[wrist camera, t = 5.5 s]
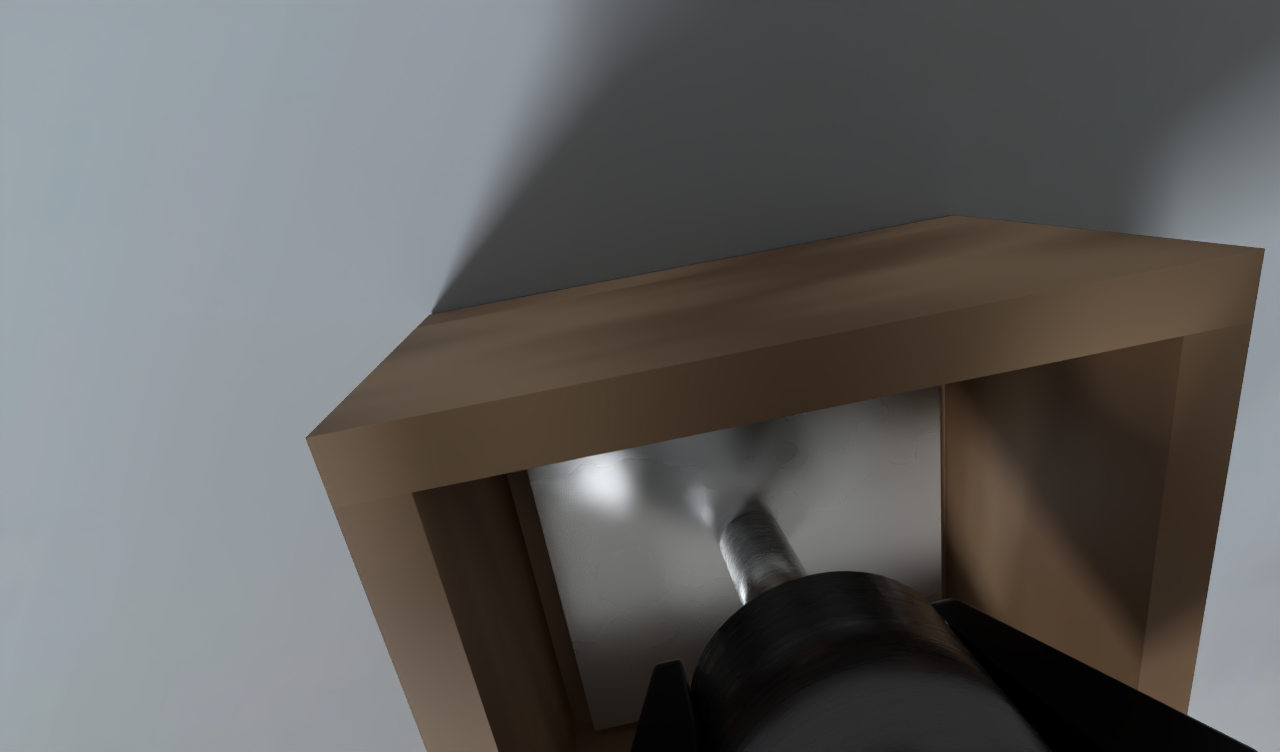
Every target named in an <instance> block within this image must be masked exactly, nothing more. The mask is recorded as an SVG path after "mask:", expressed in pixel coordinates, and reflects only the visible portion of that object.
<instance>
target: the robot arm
mask: <svg viewBox="0 0 1280 752" xmlns="http://www.w3.org/2000/svg"><path fill="white" fill-rule="evenodd" d="M930 605H931V606H932V607H933V608H934V609H935V610H936V611H937V613H938V614H939V615H940V616H941V617H942V619H943V620H944V621H945V622H946V623H947V625H948V626H949V627H950V628H951V629H952V631H953V632H954V633H955V634H956V635H957V637H958V638H959V639H960V640H961V641H962V643H963V644H964V645H965V646H966V647H967V649H968V650H969V651H970V652H971V653H972V654H973V656H974V657H975V658H976V659H977V660H978V662H979V663H980V664H981V665H982V666H983V668H984V669H985V670H986V671H987V672H988V674H989V675H990V676H991V677H992V678H993V680H994V681H995V682H996V683H997V684H998V686H999V687H1000V688H1001V689H1002V690H1003V692H1004V693H1005V694H1006V695H1007V696H1008V698H1009V699H1010V700H1011V701H1012V702H1013V704H1014V705H1015V706H1016V707H1017V708H1018V710H1019V711H1020V712H1021V713H1022V714H1023V716H1024V717H1025V718H1026V719H1027V720H1028V722H1029V723H1030V724H1031V725H1032V726H1033V728H1034V729H1035V730H1036V731H1037V732H1038V734H1039V735H1040V736H1041V737H1042V738H1043V740H1044V741H1045V742H1046V743H1047V744H1048V745H1049V747H1050V748H1051V749H1052V750H1053V751H1054V752H1257V751H1256V750H1255V749H1253V748H1251V747H1249V746H1247V745H1245V744H1243V743H1241V742H1239V741H1237V740H1235V739H1233V738H1231V737H1229V736H1227V735H1225V734H1224V733H1222V732H1220V731H1218V730H1216V729H1214V728H1212V727H1210V726H1208V725H1206V724H1204V723H1202V722H1200V721H1198V720H1196V719H1194V718H1192V717H1190V716H1188V715H1186V714H1184V713H1182V712H1180V711H1178V710H1176V709H1174V708H1172V707H1170V706H1168V705H1166V704H1164V703H1162V702H1160V701H1158V700H1156V699H1154V698H1152V697H1150V696H1148V695H1146V694H1144V693H1142V692H1140V691H1138V690H1136V689H1134V688H1132V687H1130V686H1128V685H1126V684H1124V683H1122V682H1120V681H1118V680H1117V679H1115V678H1113V677H1111V676H1109V675H1107V674H1105V673H1103V672H1101V671H1099V670H1097V669H1095V668H1093V667H1091V666H1089V665H1087V664H1085V663H1083V662H1081V661H1079V660H1077V659H1075V658H1073V657H1071V656H1069V655H1067V654H1065V653H1063V652H1061V651H1059V650H1057V649H1055V648H1053V647H1051V646H1049V645H1047V644H1045V643H1043V642H1041V641H1039V640H1037V639H1035V638H1033V637H1031V636H1029V635H1027V634H1025V633H1023V632H1021V631H1019V630H1017V629H1015V628H1013V627H1011V626H1010V625H1008V624H1006V623H1004V622H1002V621H1000V620H998V619H996V618H994V617H992V616H990V615H988V614H986V613H984V612H982V611H980V610H978V609H976V608H974V607H972V606H970V605H968V604H966V603H964V602H962V601H960V600H957V599H954V598H949V599H945V600H940V601H936V602H931V603H930ZM630 752H704V750H703V744H702V739H701V734H700V728H699V723H698V718H697V714H696V710H695V706H694V702H693V698H692V694H691V689H690V685H689V681H688V677H687V673H686V669H685V665H684V662H683V660H682V659H674V660H669V661H665V662H660V663H657V664H656V665H655V666H654V668H653V671H652V675H651V678H650V682H649V685H648V689H647V693H646V696H645V700H644V703H643V707H642V710H641V714H640V717H639V721H638V725H637V728H636V732H635V735H634V739H633V742H632V746H631V750H630Z"/></svg>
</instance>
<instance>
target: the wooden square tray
mask: <svg viewBox="0 0 1280 752" xmlns="http://www.w3.org/2000/svg"><path fill="white" fill-rule="evenodd" d="M1264 251H1265V249H1264V248H1254V247H1245V246H1236V245H1226V244H1217V243H1208V242H1199V241H1189V240H1180V239H1171V238H1161V237H1152V236H1143V235H1133V234H1124V233H1115V232H1106V231H1096V230H1087V229H1078V228H1068V227H1059V226H1050V225H1041V224H1031V223H1022V222H1013V221H1003V220H994V219H985V218H976V217H966V216H957V215H952V216H947V217H942V218H937V219H931V220H926V221H921V222H915V223H910V224H905V225H900V226H894V227H889V228H884V229H879V230H873V231H868V232H863V233H858V234H852V235H847V236H842V237H836V238H831V239H826V240H821V241H815V242H810V243H805V244H800V245H794V246H789V247H784V248H778V249H773V250H768V251H763V252H757V253H752V254H747V255H742V256H736V257H731V258H726V259H720V260H715V261H710V262H705V263H699V264H694V265H689V266H684V267H678V268H673V269H668V270H663V271H657V272H652V273H647V274H641V275H636V276H631V277H626V278H620V279H615V280H610V281H605V282H599V283H594V284H589V285H583V286H578V287H573V288H568V289H562V290H557V291H552V292H547V293H541V294H536V295H531V296H525V297H520V298H515V299H510V300H504V301H499V302H494V303H489V304H483V305H478V306H473V307H468V308H462V309H457V310H452V311H446V312H441V313H436V314H431V315H429V316H428V317H427V318H426V319H425V320H424V321H423V322H422V323H421V324H420V325H419V326H418V327H417V328H416V329H415V330H414V331H413V332H412V333H411V334H410V335H409V336H408V337H407V338H406V339H405V340H404V341H403V342H402V343H401V344H400V345H399V346H398V347H397V348H396V349H395V350H394V351H393V352H392V353H391V354H389V355H388V356H387V357H386V358H385V359H384V360H383V361H382V362H381V363H380V364H379V365H378V366H377V367H376V368H375V369H374V370H373V371H372V372H371V373H370V374H369V375H368V376H367V377H366V378H365V379H364V380H363V381H362V382H361V383H360V384H359V385H358V386H357V387H356V388H355V389H354V390H353V391H352V392H351V393H350V394H349V395H348V396H347V397H346V398H345V399H344V400H343V401H342V402H341V403H340V404H339V405H338V406H337V407H336V408H335V409H334V410H333V411H332V412H331V413H330V414H329V415H328V416H327V417H326V418H325V419H324V420H323V421H322V422H321V423H320V424H319V425H318V426H317V427H316V428H315V429H314V430H313V431H312V432H311V433H310V434H309V435H308V436H307V437H306V440H307V443H308V446H309V448H310V451H311V453H312V456H313V458H314V461H315V464H316V466H317V469H318V471H319V474H320V477H321V479H322V482H323V484H324V487H325V489H326V492H327V495H328V497H329V500H330V502H331V505H332V507H333V510H334V513H335V515H336V518H337V520H338V523H339V526H340V528H341V531H342V533H343V536H344V538H345V541H346V544H347V546H348V549H349V551H350V554H351V557H352V559H353V562H354V564H355V567H356V569H357V572H358V575H359V577H360V580H361V582H362V585H363V587H364V590H365V593H366V595H367V598H368V600H369V603H370V606H371V608H372V611H373V613H374V616H375V618H376V621H377V624H378V626H379V629H380V631H381V634H382V636H383V639H384V642H385V644H386V647H387V649H388V652H389V655H390V657H391V660H392V662H393V665H394V667H395V670H396V673H397V675H398V678H399V680H400V683H401V686H402V688H403V691H404V693H405V696H406V698H407V701H408V704H409V706H410V709H411V711H412V714H413V716H414V719H415V722H416V724H417V727H418V729H419V732H420V735H421V737H422V740H423V742H424V745H425V747H426V750H427V752H630V750H631V746H632V742H633V739H634V735H635V732H636V728H637V725H638V722H633V723H629V724H624V725H620V726H615V727H611V728H607V729H602V730H598V731H595V730H594V726H593V722H592V718H591V714H590V710H589V707H588V703H587V699H586V695H585V691H584V687H583V683H582V680H581V676H580V672H579V668H578V664H577V660H576V657H575V653H574V649H573V645H572V641H571V637H570V633H569V630H568V626H567V622H566V618H565V614H564V610H563V607H562V603H561V599H560V595H559V591H558V587H557V584H556V580H555V576H554V572H553V568H552V564H551V560H550V557H549V553H548V549H547V545H546V541H545V537H544V534H543V530H542V526H541V522H540V518H539V514H538V511H537V507H536V503H535V499H534V495H533V491H532V487H531V484H530V480H529V476H528V472H527V469H530V468H535V467H540V466H545V465H550V464H555V463H560V462H565V461H570V460H575V459H580V458H585V457H590V456H594V455H599V454H604V453H609V452H614V451H619V450H624V449H629V448H634V447H639V446H644V445H649V444H654V443H658V442H663V441H668V440H673V439H678V438H683V437H688V436H693V435H698V434H703V433H708V432H713V431H718V430H722V429H727V428H732V427H737V426H742V425H747V424H752V423H757V422H762V421H767V420H772V419H777V418H782V417H787V416H791V415H796V414H801V413H806V412H811V411H816V410H821V409H826V408H831V407H836V406H841V405H846V404H851V403H855V402H860V401H865V400H870V399H875V398H880V397H885V396H890V395H895V394H900V393H905V392H910V391H915V390H919V389H924V388H929V387H934V386H939V385H940V466H941V588H942V600H945V599H949V598H954V599H957V600H960V601H962V602H964V603H966V604H968V605H970V606H972V607H974V608H976V609H978V610H980V611H982V612H984V613H986V614H988V615H990V616H992V617H994V618H996V619H998V620H1000V621H1002V622H1004V623H1006V624H1008V625H1010V626H1011V627H1013V628H1015V629H1017V630H1019V631H1021V632H1023V633H1025V634H1027V635H1029V636H1031V637H1033V638H1035V639H1037V640H1039V641H1041V642H1043V643H1045V644H1047V645H1049V646H1051V647H1053V648H1055V649H1057V650H1059V651H1061V652H1063V653H1065V654H1067V655H1069V656H1071V657H1073V658H1075V659H1077V660H1079V661H1081V662H1083V663H1085V664H1087V665H1089V666H1091V667H1093V668H1095V669H1097V670H1099V671H1101V672H1103V673H1105V674H1107V675H1109V676H1111V677H1113V678H1115V679H1117V680H1118V681H1120V682H1122V683H1124V684H1126V685H1128V686H1130V687H1132V688H1134V689H1136V690H1138V691H1140V692H1142V693H1144V694H1146V695H1148V696H1150V697H1152V698H1154V699H1156V700H1158V701H1160V702H1162V703H1164V704H1166V705H1168V706H1170V707H1172V708H1174V709H1176V710H1178V711H1180V712H1182V713H1184V714H1186V715H1187V712H1188V706H1189V700H1190V694H1191V688H1192V682H1193V676H1194V670H1195V664H1196V658H1197V652H1198V646H1199V640H1200V634H1201V628H1202V622H1203V616H1204V610H1205V604H1206V598H1207V592H1208V586H1209V580H1210V574H1211V568H1212V562H1213V557H1214V551H1215V545H1216V539H1217V533H1218V527H1219V521H1220V515H1221V509H1222V503H1223V497H1224V491H1225V485H1226V479H1227V473H1228V467H1229V461H1230V455H1231V449H1232V443H1233V437H1234V431H1235V425H1236V419H1237V413H1238V407H1239V401H1240V395H1241V389H1242V383H1243V377H1244V371H1245V365H1246V359H1247V353H1248V347H1249V341H1250V335H1251V329H1252V323H1253V317H1254V311H1255V305H1256V299H1257V293H1258V287H1259V281H1260V275H1261V269H1262V263H1263V257H1264Z"/></svg>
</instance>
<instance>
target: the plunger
mask: <svg viewBox="0 0 1280 752" xmlns="http://www.w3.org/2000/svg"><path fill="white" fill-rule="evenodd" d="M527 472H528V476H529V480H530V484H531V487H532V491H533V495H534V499H535V503H536V507H537V511H538V514H539V518H540V522H541V526H542V530H543V534H544V537H545V541H546V545H547V549H548V553H549V557H550V560H551V564H552V568H553V572H554V576H555V580H556V584H557V587H558V591H559V595H560V599H561V603H562V607H563V610H564V614H565V618H566V622H567V626H568V630H569V633H570V637H571V641H572V645H573V649H574V653H575V657H576V660H577V664H578V668H579V672H580V676H581V680H582V683H583V687H584V691H585V695H586V699H587V703H588V707H589V710H590V714H591V718H592V722H593V726H594V730H595V731H598V730H602V729H607V728H611V727H615V726H620V725H624V724H629V723H633V722H638V721H639V717H640V714H641V710H642V707H643V703H644V700H645V696H646V693H647V689H648V685H649V682H650V678H651V675H652V671H653V668H654V666H655V665H656V664H657V663H660V662H665V661H669V660H674V659H682V660H683V662H684V665H685V669H686V673H687V677H688V681H689V685H690V689H691V694H692V698H693V702H694V706H695V710H696V714H697V718H698V723H699V728H700V734H701V739H702V744H703V750H704V752H1054V751H1053V750H1052V749H1051V748H1050V747H1049V745H1048V744H1047V743H1046V742H1045V741H1044V740H1043V738H1042V737H1041V736H1040V735H1039V734H1038V732H1037V731H1036V730H1035V729H1034V728H1033V726H1032V725H1031V724H1030V723H1029V722H1028V720H1027V719H1026V718H1025V717H1024V716H1023V714H1022V713H1021V712H1020V711H1019V710H1018V708H1017V707H1016V706H1015V705H1014V704H1013V702H1012V701H1011V700H1010V699H1009V698H1008V696H1007V695H1006V694H1005V693H1004V692H1003V690H1002V689H1001V688H1000V687H999V686H998V684H997V683H996V682H995V681H994V680H993V678H992V677H991V676H990V675H989V674H988V672H987V671H986V670H985V669H984V668H983V666H982V665H981V664H980V663H979V662H978V660H977V659H976V658H975V657H974V656H973V654H972V653H971V652H970V651H969V650H968V649H967V647H966V646H965V645H964V644H963V643H962V641H961V640H960V639H959V638H958V637H957V635H956V634H955V633H954V632H953V631H952V629H951V628H950V627H949V626H948V625H947V623H946V622H945V621H944V620H943V619H942V617H941V616H940V615H939V614H938V613H937V611H936V610H935V609H934V608H933V607H932V606H931V605H930V603H931V602H936V601H940V600H942V588H941V466H940V385H939V386H934V387H929V388H924V389H919V390H915V391H910V392H905V393H900V394H895V395H890V396H885V397H880V398H875V399H870V400H865V401H860V402H855V403H851V404H846V405H841V406H836V407H831V408H826V409H821V410H816V411H811V412H806V413H801V414H796V415H791V416H787V417H782V418H777V419H772V420H767V421H762V422H757V423H752V424H747V425H742V426H737V427H732V428H727V429H722V430H718V431H713V432H708V433H703V434H698V435H693V436H688V437H683V438H678V439H673V440H668V441H663V442H658V443H654V444H649V445H644V446H639V447H634V448H629V449H624V450H619V451H614V452H609V453H604V454H599V455H594V456H590V457H585V458H580V459H575V460H570V461H565V462H560V463H555V464H550V465H545V466H540V467H535V468H530V469H527Z"/></svg>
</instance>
